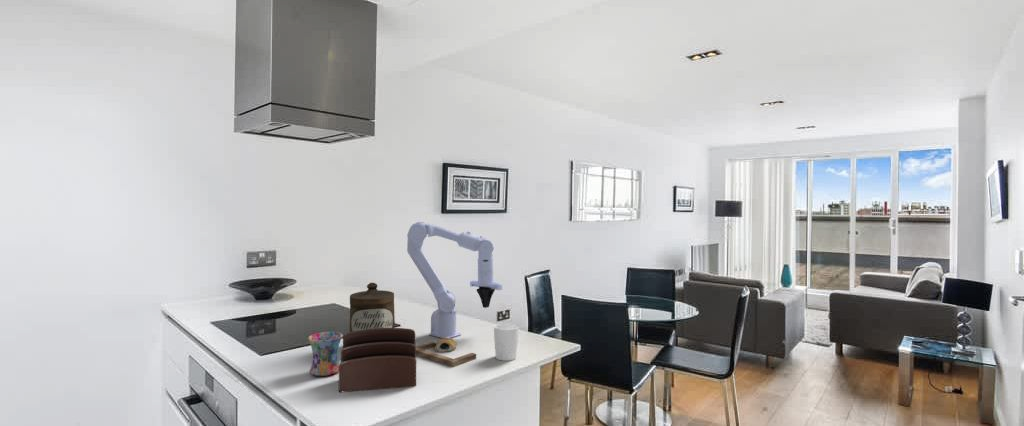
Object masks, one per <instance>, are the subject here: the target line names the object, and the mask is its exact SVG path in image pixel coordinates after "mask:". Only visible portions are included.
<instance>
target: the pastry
mask: <svg viewBox="0 0 1024 426" xmlns="http://www.w3.org/2000/svg"><path fill="white" fill-rule="evenodd" d="M456 347H457V342H456V341H455V339H454V338H439V339H438V340H437V341H436V347H434V349H435V351H436V352H443V353H444V352H453V351H455V350H456V349H457V348H456Z"/></svg>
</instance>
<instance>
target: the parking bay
mask: <svg viewBox="0 0 1024 426" xmlns="http://www.w3.org/2000/svg"><path fill="white" fill-rule="evenodd" d="M436 342H437V341H436ZM436 342H435V341H428V342H425V343H422V344H417V345H415V346H416V356H419V357H421V358H425V359H427V360H430V361H432V362H433V361H434V362H437V363H440V364H443V365H447V366H450V367H453V368H454V367H457V366H460V365H462V364H465V363H469V362H470V361H473V360H476V359H477V353H476V352H470V353H466V354H464V355H461V356H458V357H456V358H455V357H454V358H452V357H448V356H446V355H442V354H438V353H436V352H432V351H429V350H430V349H435V347H436Z"/></svg>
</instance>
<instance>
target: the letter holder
mask: <svg viewBox="0 0 1024 426" xmlns="http://www.w3.org/2000/svg"><path fill="white" fill-rule="evenodd" d="M342 335H343V336H342V350H341V351H340V362H339V364H340V365H339V371H338V392H339V393H343V392H342V391H348V392H360V391H359V390H361V391H370V390H372V391H373V390H383V389H384V390H385V389H386V390H387V389H395V388H409V387H417V357H416V356H417V355H416V346H417V345H416V331H415V330H414V329H411V328H405V327H395V328H374V329H365V330H358V331H352V332H350V331H349V332H345V333H344V334H342Z"/></svg>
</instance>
